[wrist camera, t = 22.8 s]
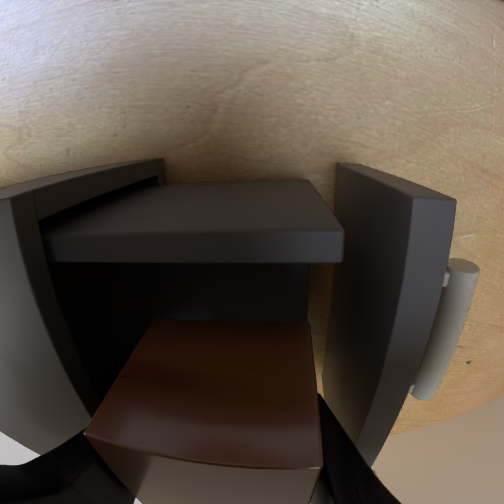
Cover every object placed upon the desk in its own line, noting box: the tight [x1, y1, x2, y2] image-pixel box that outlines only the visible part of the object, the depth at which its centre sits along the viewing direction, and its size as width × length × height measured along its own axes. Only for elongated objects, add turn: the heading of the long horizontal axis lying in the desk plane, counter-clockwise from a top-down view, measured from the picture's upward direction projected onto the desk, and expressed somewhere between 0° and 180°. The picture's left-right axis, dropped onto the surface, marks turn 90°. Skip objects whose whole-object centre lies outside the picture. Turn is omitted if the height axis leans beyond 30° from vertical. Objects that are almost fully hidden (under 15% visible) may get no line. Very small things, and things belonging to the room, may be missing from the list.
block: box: [84, 318, 323, 504], centre depth 8 cm, size 5×5×5 cm
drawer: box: [38, 163, 480, 467], centre depth 12 cm, size 20×14×9 cm
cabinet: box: [0, 158, 166, 455], centre depth 14 cm, size 17×15×11 cm
